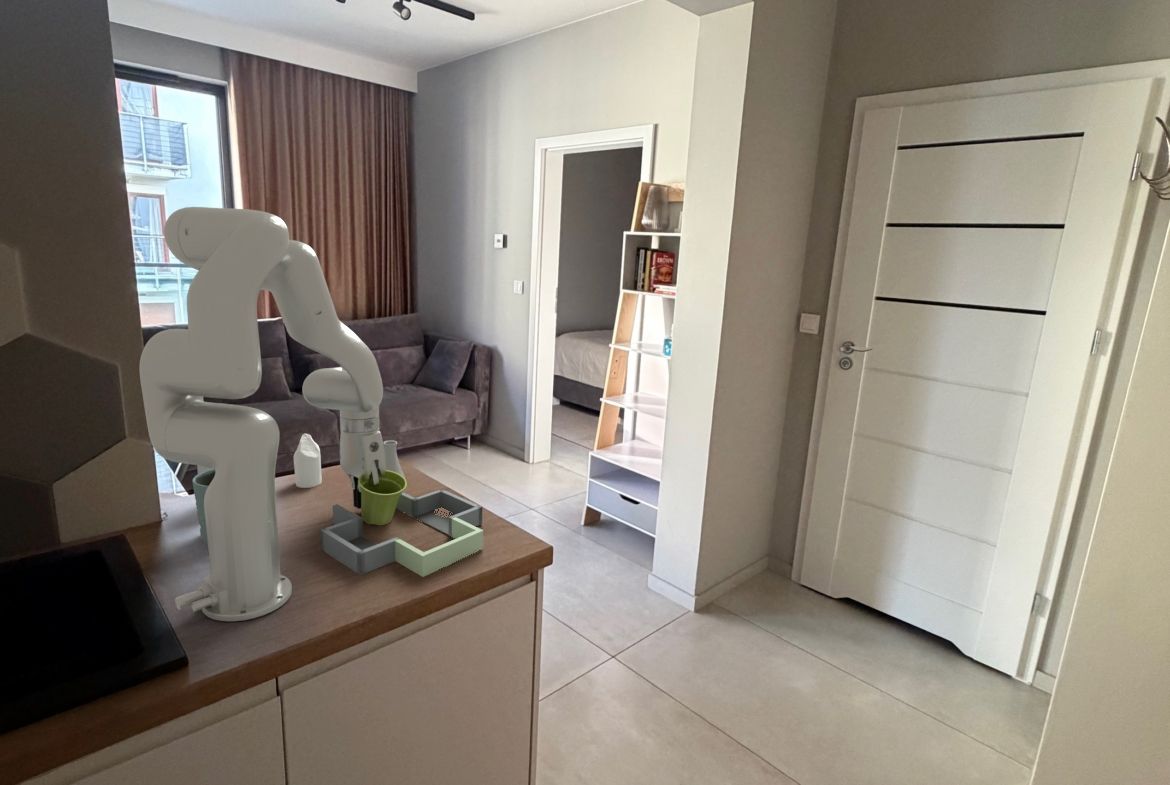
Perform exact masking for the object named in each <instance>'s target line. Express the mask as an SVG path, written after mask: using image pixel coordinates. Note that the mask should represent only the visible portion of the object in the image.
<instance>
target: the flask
mask: <svg viewBox="0 0 1170 785" xmlns="http://www.w3.org/2000/svg"><path fill="white" fill-rule="evenodd" d="M383 446H384V454H385V469H386V470H389V471H393V472H396V473H398V474H400V475H401V476H403V477H404V478H405V480H406V477H405V474H404V472H403V469H402V466H401V462H400V461H399V457H398V452H397V446H398V441H396V440H385V441H383ZM406 481H407V480H406Z"/></svg>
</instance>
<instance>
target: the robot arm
mask: <svg viewBox="0 0 1170 785" xmlns="http://www.w3.org/2000/svg"><path fill="white" fill-rule="evenodd" d="M163 235H164V241H165V244H166V246H167V248H168V250H169V251H170V253H171V254H172V255H173V256H174V257H175V258H176V259H177V260H179V262H181V263H182V264H184V265H186V266H188V267H190V268H192V269H194V270H196V271H197V272H196V274H195V276H194V277H193V279H192V281H191V282H190V285H189V288H188V291H187V294H186V312H187V328H188V329H186V328H168V329H164V330H162V331H159V332H157V333H155V334H154V335H152V336H151V337H150V339H149V340H148V341H147V342H146V344H145V345H144V348H143V350H142V352H141V355H140V359H139V380H140V387H141V393H142V399H143V407H144V412H145V413H144V414H145V418H146V420H145V421H146V425H147V430H148V437H149V441H150V443H151V445H152V447H153V449H154V450H155V452H156V453H157V454H158V455H159V456H160V457H162V458H163V459H165V460H167V461H170V462H173V463H179V464H185V465H186V464H187V465H194V466H197V465H199V466H205V467H210V468H214V469H215V472H216V473H215V477H214V478H213V480H212V482H211V483H210V485H209V487H208V488H207V490H206V493H205V497H204V511H205V518H206V529H207V540H208V545H207V549H208V560H209V571H210V573H209V574H210V576H208V577H204V578H203V582H204V583H203V584H204V585H202V586H199V587H198V588H197V590H195V591H192V592H187V593H185V594H182V595H179V596H177V597H175V600H174V602H175V606H176V608H177V610H178V611H181V610H183V609H186V608H188V607H191V608H192V611H193V612H197V611H200V610H201V611H202V613H203V614H204V615H205V616H206V617H208V618H210V619H212V620H214V621H218V622H219V621H220V622H238V621H239V622H241V621H248V620H252V619H256V618H259V617H262V616H265V615H268V614H269V613H272V612H273V611H275V610H277V609H279V608H281V607H282V606H283V605H284V604H285V603H286V602H287V601H288V600H289V599H290V598H291V596H292V593H293V586H292V582H291V580H290V579H289V578H288V577H286V576H285V575H282V574H281V565H280V564H281V562H280V548H279V531H278V529H279V527H278V515H277V514H278V513H277V502H276V501H277V500H276V464H277V458H278V451H279V445H280V429H279V426H278V423H277V421H276V420H275V418H274V417H272V416H271V415H270V414H268V413H267V412H265V411H264V410H261V409H259V408H256V407H251V406H246V405H239V404H229V403H222V402H221V403H220V402H209V401H204V398H212V399H224V400H226V399H227V400H239V399H245V398H248V397H250V396H252V395H253V394H255V393H256V392H257V391H258V389H259V388H260V385H261V382H262V372H263V371H262V368H263V367H262V357H261V347H260V334H259V333H260V332H259V324H258V323H259V322H258V300H259V299H258V298H259V295H260V292H261V291H269V292H270V293H271V294H272V296H273V299H274V301H275V304H276V306H277V309H278V311H279V314H280V316H281V319H282V321H283V323H284V327H285V328H286V332H287V333H288V335H289V337H291V338H292V339H293V340H294V341H295V342H298V343H299V344H301V345H303V346H304V347H306V348H308V349H310V350H312V351H314V352H316V353H319V354H321V355H322V356H324V357H326V358H329V359H331V360H332V361H334V362H335V363H336V364H337V365H339V366H337V367H328V368H319V369H316V370H314V371H313V372H311V373H310V374H308V376H306V378H305V379H304V381H303V384H302V390H301V391H302V396H303V398H304V400H305V401H306V402H307V403H308V404H309V405H311V406H313V407H316V408H318V409H319V408H320V409H327V410H335V411H339V421H340V422H339V423H340V429H339V430H340V436H339V437H340V439H339V464H340V468H341V470H342V471H343V472H345V473H344V474H346V475H347V476H348V477H349V479H350V484H351V488H352V493H353V494H352V497H353V507H354V508H356V509H358V510H361V490H360V486H359V483H358V479H359V477H360V476H361V475H363V480H364V481H368V480H369V476H370V481H369V486H370V487H374V486H378V485H379V479H378V474H379V473H377V470H380V473H381V474H379V475H382V476H384V475H385V472H386V469H385V454H384V451H385V446H384V444H383V442H384V441H383V436H382V432H381V431H380V405H381V403H382V400H383V396H384V386H383V380H382V376H381V372H380V369H379V365H378V362H377V359H376V357H375V355H374V354H373V351H372V350H371V349H370V348H369V346H368V345H366V343H365V342H364V341H362V339H361V338H360V337H359V336H358V335H357V334H356V333H355V332H354V331H353V330H352V329H350V327H348V326H347V325H345V324H344V323H343V322H342V321H341V320H340V319H339V317H338V315H337V310H336V309H335V308H336V307H335V304H334V303H333V298H332V297H331V293H330V291H329V287H328V284H327V281H326V278H325V275H324V273H323V272H324V271H323V269H322V266H321V263H320V260H319V258H318V256H317V254H316V252H315V251H314V249H313V248H312V247H311V246H310V245H308V244H306V243H304V242H301V241H299V240H294V239H293V240H292V239H290V232H289V227H288V226H287V224H286V223H285V221H284V220H283V219H282V218H280V217H279V216H277V215H276V214H273V213H270V212H267V211H261V210H257V209H249V208H248V209H247V208H246V209H245V208H230V207H229V208H228V207H226V208H225V207H224V208H223V207H221V208H220V207H208V206H207V207H206V206H205V207H204V206H187V207H186V206H185V207H183V208H179V209H177V210H175V211H173V212H172V213H171V214H170V215H169V216H168V218H167V220H166V221H165V224H164V228H163Z"/></svg>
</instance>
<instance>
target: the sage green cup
mask: <svg viewBox="0 0 1170 785" xmlns="http://www.w3.org/2000/svg"><path fill="white" fill-rule="evenodd" d="M215 473H216V472H215V469H213V470H209V471H205V472H202V473H200V474H198V473H197V475H195V476H194V477H193V478H192V480H191V481H192V487H193V493H194V499H195V507H196V513H197V514H196V515H197V518H198V519H197V520H198V525H199V526H200V527H199V532H200V539H201V541H202V543H203V544H205V545H207V546H208V540H207V529H206V518H205V511H204V497H205V493H206V490H207V488H208V487H209V485H210V483H211V482H212V480H213V478H214V477H215Z"/></svg>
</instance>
